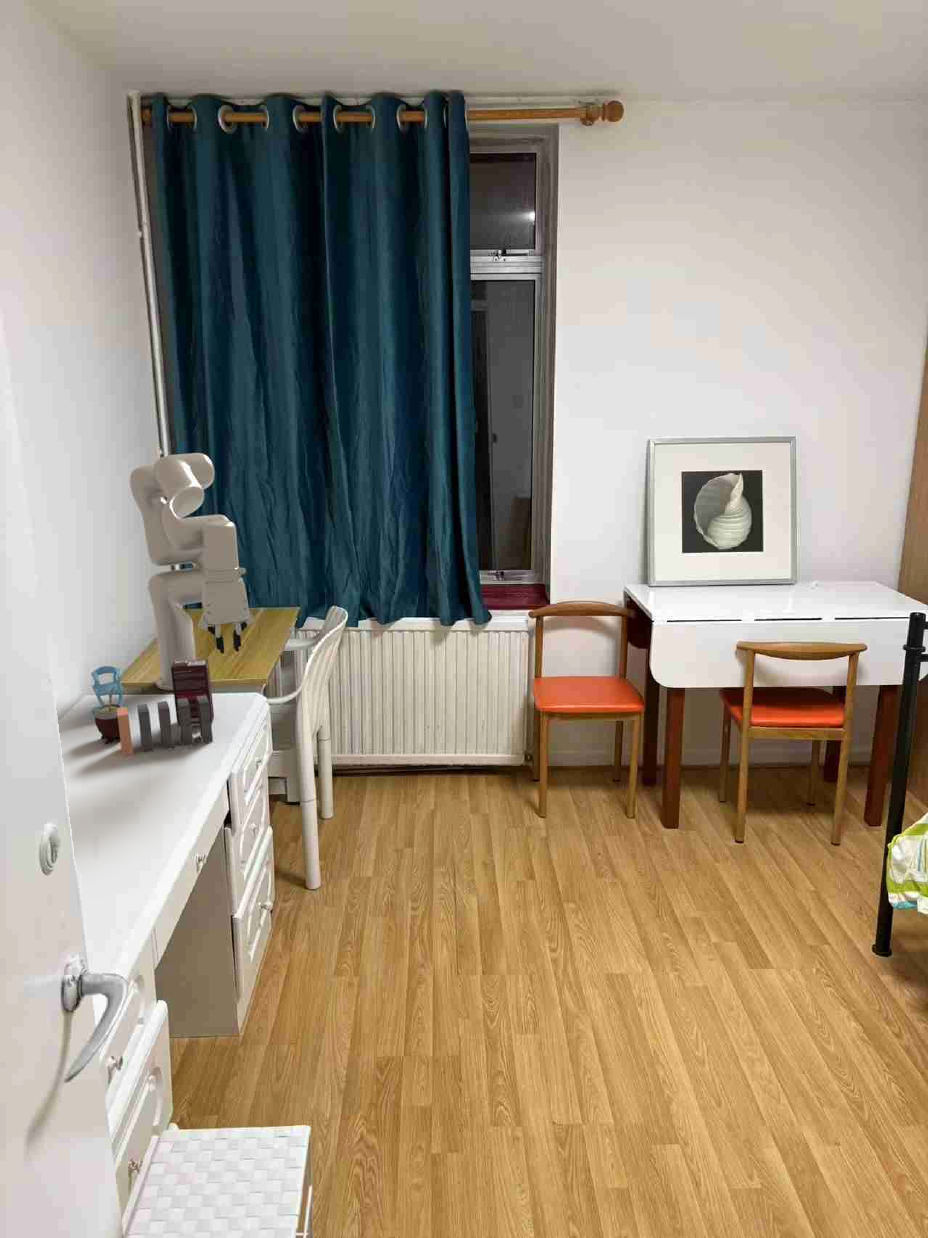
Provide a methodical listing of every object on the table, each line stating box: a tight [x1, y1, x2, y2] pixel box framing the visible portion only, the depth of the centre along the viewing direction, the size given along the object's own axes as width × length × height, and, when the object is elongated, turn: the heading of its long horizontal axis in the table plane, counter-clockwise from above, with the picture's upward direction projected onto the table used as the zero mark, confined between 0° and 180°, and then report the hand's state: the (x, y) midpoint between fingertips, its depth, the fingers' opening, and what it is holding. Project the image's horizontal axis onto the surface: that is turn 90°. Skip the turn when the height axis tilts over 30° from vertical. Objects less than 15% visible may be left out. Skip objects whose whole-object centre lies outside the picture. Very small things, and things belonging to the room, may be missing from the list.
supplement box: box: [171, 658, 215, 728], centre depth 236 cm, size 9×5×16 cm, turn 98°
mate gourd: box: [94, 687, 121, 745], centre depth 226 cm, size 8×8×15 cm
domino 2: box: [156, 700, 175, 750], centre depth 224 cm, size 5×2×10 cm, turn 23°
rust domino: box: [117, 706, 134, 757], centre depth 221 cm, size 5×2×10 cm, turn 23°
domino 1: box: [136, 703, 154, 754], centre depth 222 cm, size 5×2×10 cm, turn 23°
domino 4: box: [197, 695, 214, 744], centre depth 227 cm, size 5×2×10 cm, turn 23°
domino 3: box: [177, 698, 194, 747], centre depth 226 cm, size 5×2×10 cm, turn 23°
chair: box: [90, 665, 125, 714], centre depth 243 cm, size 8×8×12 cm
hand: (229, 650), depth 225 cm, fingers open, 2 cm apart
